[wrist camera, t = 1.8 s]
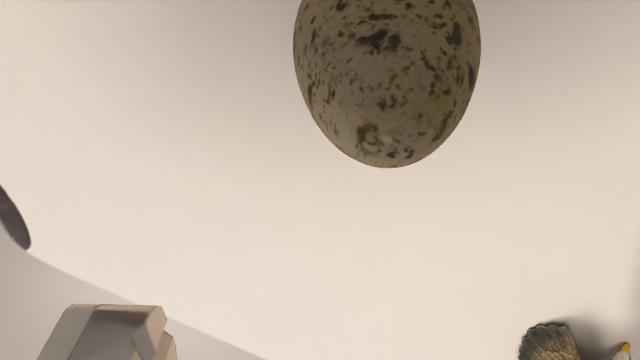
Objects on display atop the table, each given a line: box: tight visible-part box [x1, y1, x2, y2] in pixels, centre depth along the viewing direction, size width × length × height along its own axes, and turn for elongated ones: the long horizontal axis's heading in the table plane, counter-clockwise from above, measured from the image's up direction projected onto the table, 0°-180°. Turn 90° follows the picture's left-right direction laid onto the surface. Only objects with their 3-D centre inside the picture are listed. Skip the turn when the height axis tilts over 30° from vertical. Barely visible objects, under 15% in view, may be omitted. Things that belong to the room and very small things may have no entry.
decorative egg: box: [293, 0, 481, 168], centre depth 17 cm, size 6×6×10 cm
